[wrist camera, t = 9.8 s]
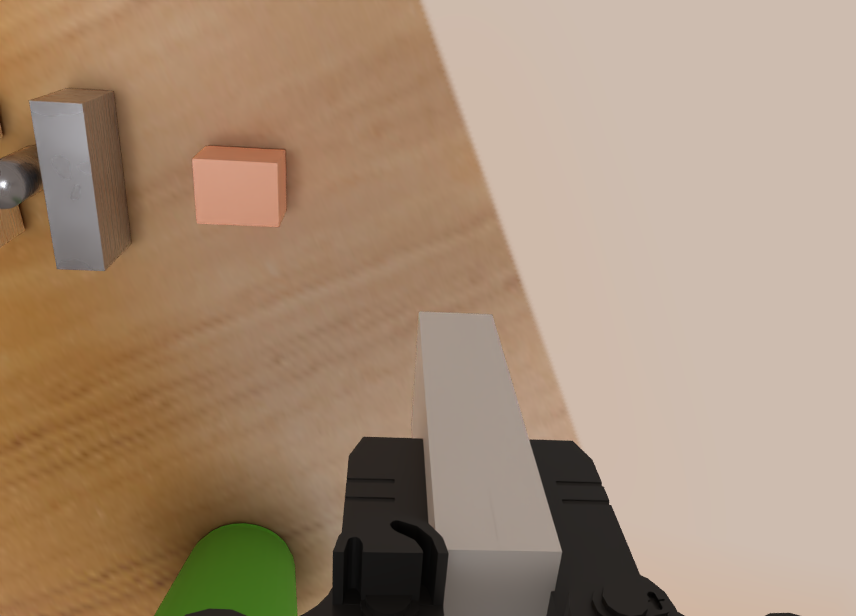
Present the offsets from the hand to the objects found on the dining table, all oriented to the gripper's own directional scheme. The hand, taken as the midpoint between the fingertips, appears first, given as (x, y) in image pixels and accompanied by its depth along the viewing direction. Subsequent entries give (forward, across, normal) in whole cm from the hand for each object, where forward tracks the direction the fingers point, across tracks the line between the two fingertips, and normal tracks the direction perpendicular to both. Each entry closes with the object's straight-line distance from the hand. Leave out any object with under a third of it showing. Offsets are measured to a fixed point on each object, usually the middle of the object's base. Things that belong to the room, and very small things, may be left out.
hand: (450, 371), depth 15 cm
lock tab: (+15, -7, 0) cm, 16 cm away
